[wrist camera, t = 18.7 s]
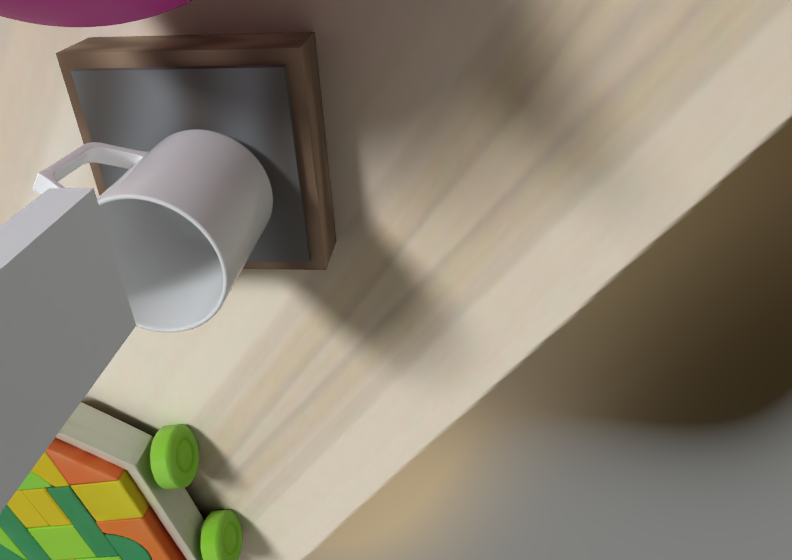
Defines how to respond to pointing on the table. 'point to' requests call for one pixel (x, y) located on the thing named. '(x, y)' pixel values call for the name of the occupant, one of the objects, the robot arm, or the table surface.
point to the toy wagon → (115, 498)
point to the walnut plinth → (218, 118)
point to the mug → (177, 221)
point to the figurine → (84, 11)
